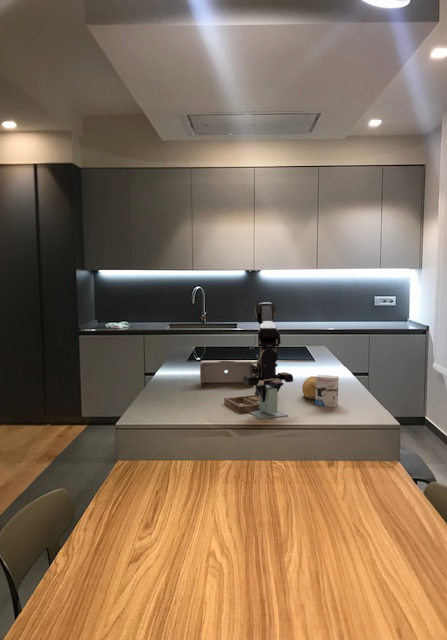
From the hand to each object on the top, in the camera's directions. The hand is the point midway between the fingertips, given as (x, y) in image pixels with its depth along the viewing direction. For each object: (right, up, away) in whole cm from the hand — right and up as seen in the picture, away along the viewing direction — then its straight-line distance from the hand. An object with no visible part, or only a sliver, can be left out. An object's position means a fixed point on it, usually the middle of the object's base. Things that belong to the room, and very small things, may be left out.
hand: (268, 401), depth 191 cm
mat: (0, -5, 0) cm, 5 cm away
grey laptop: (-15, -1, +51) cm, 53 cm away
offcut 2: (-1, -4, +10) cm, 11 cm away
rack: (-7, -4, +12) cm, 14 cm away
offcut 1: (-4, -3, +16) cm, 16 cm away
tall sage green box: (0, -4, 0) cm, 4 cm away
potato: (+21, -3, +24) cm, 32 cm away
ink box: (+25, -4, +13) cm, 28 cm away
